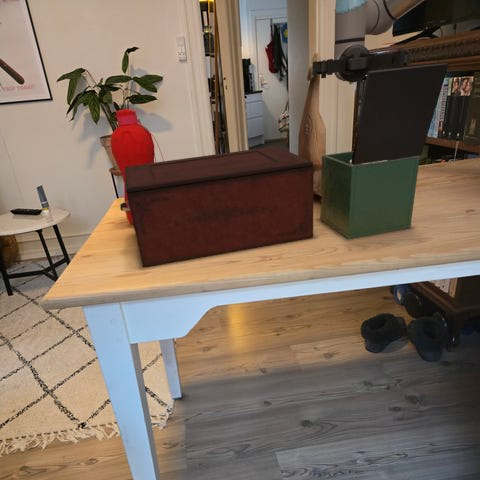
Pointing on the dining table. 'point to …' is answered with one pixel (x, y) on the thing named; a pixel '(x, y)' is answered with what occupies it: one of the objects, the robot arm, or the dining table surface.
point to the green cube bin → (367, 194)
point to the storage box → (219, 203)
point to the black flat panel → (397, 112)
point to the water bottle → (131, 145)
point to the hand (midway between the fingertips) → (366, 63)
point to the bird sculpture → (313, 129)
